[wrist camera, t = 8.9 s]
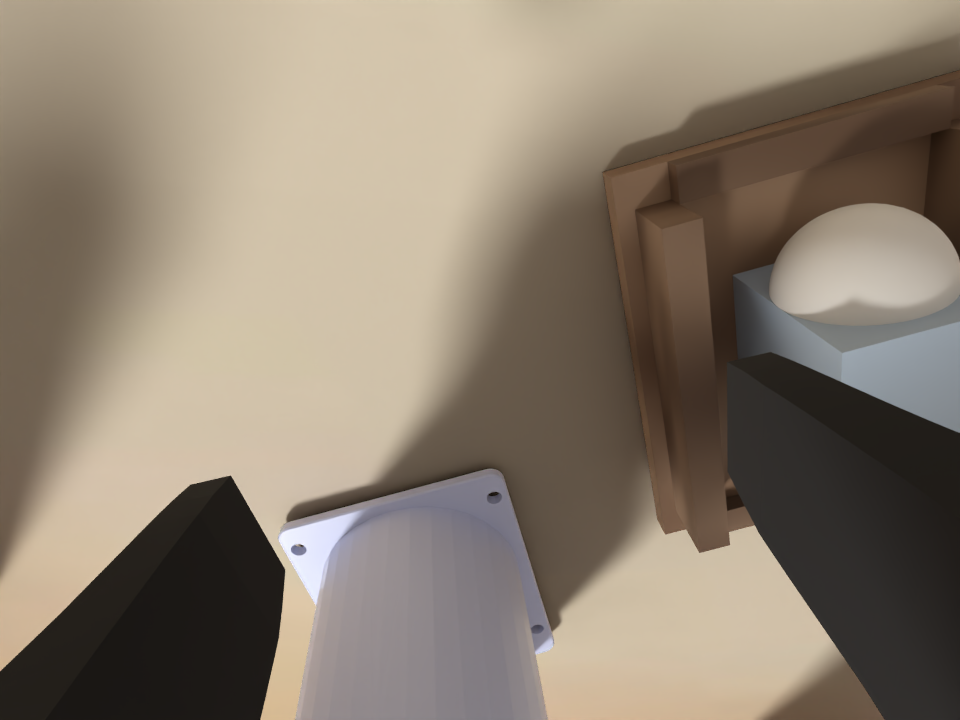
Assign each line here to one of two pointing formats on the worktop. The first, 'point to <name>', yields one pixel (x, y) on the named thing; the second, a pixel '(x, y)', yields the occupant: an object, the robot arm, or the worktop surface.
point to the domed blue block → (863, 307)
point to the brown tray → (751, 260)
